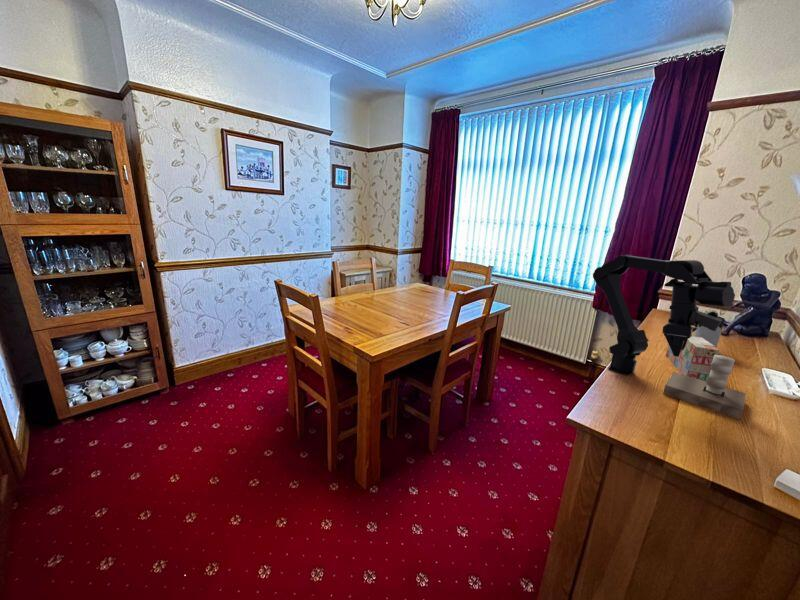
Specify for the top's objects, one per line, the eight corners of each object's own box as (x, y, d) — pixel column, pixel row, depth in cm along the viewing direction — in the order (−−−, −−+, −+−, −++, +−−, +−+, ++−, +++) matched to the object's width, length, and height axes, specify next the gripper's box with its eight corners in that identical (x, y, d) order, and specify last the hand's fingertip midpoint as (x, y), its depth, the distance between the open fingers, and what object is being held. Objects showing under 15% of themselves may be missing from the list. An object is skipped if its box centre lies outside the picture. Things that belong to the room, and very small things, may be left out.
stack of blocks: (664, 355, 131) (672, 327, 128) (683, 359, 129) (692, 329, 126) (686, 379, 112) (695, 345, 109) (709, 383, 110) (719, 349, 106)
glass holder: (691, 351, 137) (701, 317, 133) (684, 341, 149) (693, 309, 145) (719, 356, 132) (730, 321, 129) (709, 345, 144) (719, 313, 140)
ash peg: (700, 399, 98) (713, 357, 95) (702, 395, 101) (714, 353, 98) (719, 406, 95) (734, 362, 92) (721, 401, 98) (735, 358, 95)
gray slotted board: (662, 393, 101) (665, 384, 100) (671, 380, 110) (673, 372, 109) (740, 419, 89) (743, 410, 88) (742, 402, 98) (745, 393, 97)
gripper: (718, 309, 85) (712, 366, 87) (724, 301, 97) (718, 351, 99) (664, 305, 93) (659, 357, 95) (675, 298, 105) (671, 345, 107)
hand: (678, 352), depth 99 cm, fingers open, 9 cm apart
